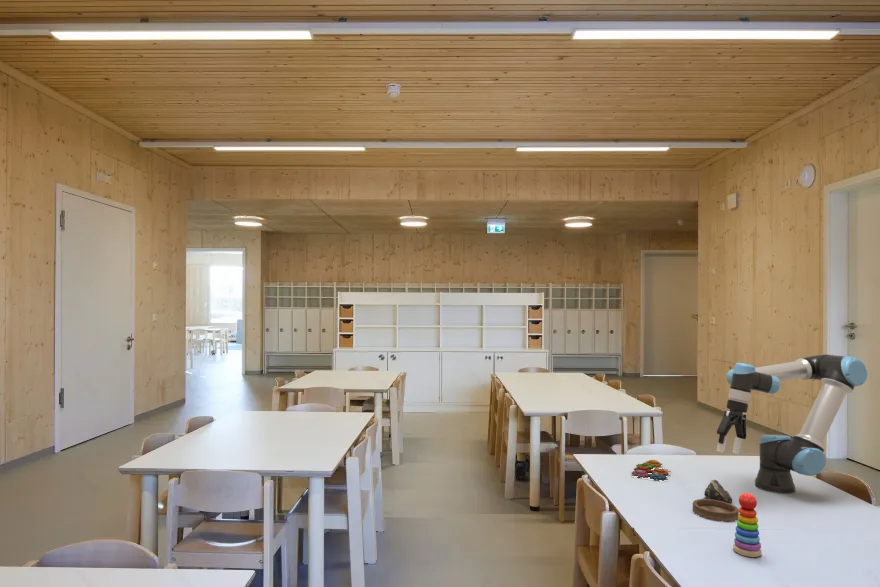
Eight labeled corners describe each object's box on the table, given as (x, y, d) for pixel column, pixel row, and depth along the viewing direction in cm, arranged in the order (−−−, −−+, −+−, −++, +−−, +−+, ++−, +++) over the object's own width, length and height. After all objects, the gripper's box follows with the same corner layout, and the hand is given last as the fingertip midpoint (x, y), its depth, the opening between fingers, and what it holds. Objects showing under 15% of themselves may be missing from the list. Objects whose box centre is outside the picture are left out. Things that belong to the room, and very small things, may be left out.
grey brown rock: (738, 506, 219) (725, 482, 220) (715, 515, 221) (703, 491, 222) (729, 496, 230) (717, 473, 231) (708, 504, 231) (696, 482, 232)
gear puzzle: (639, 462, 284) (639, 454, 284) (674, 467, 276) (674, 459, 277) (630, 478, 256) (630, 469, 256) (668, 484, 249) (668, 475, 249)
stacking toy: (727, 547, 181) (728, 489, 181) (751, 547, 182) (751, 489, 182) (742, 558, 173) (743, 497, 174) (767, 558, 174) (767, 497, 174)
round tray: (718, 505, 220) (718, 498, 220) (748, 520, 205) (748, 512, 205) (684, 507, 217) (684, 500, 217) (711, 522, 202) (711, 514, 202)
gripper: (742, 402, 238) (733, 451, 237) (714, 395, 224) (703, 448, 222) (761, 406, 232) (751, 457, 231) (733, 399, 217) (722, 453, 216)
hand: (728, 452), depth 226 cm, fingers open, 13 cm apart
